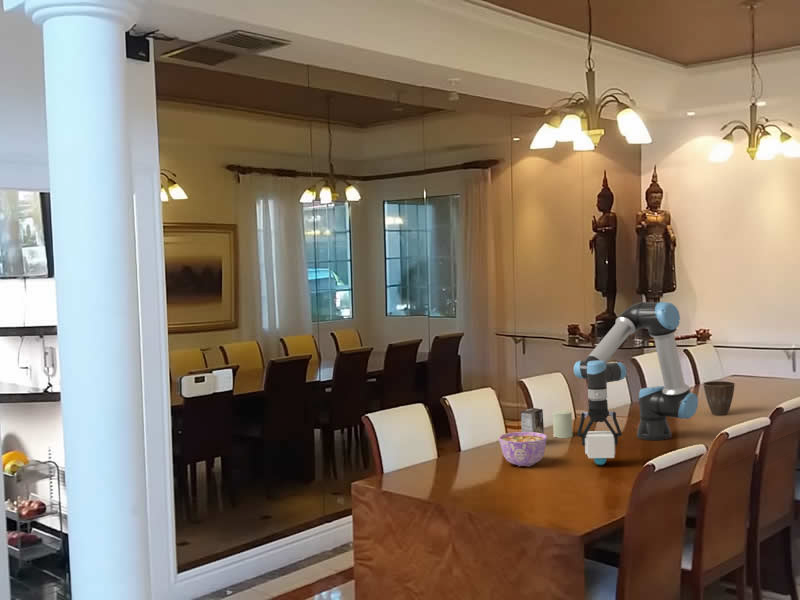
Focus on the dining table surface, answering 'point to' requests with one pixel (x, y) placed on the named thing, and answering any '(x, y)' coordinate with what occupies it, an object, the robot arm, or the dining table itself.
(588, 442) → the white rounded cube
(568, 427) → the can
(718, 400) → the plant pot
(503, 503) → the dining table surface
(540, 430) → the coffee box
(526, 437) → the bowl of food
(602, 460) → the ball
